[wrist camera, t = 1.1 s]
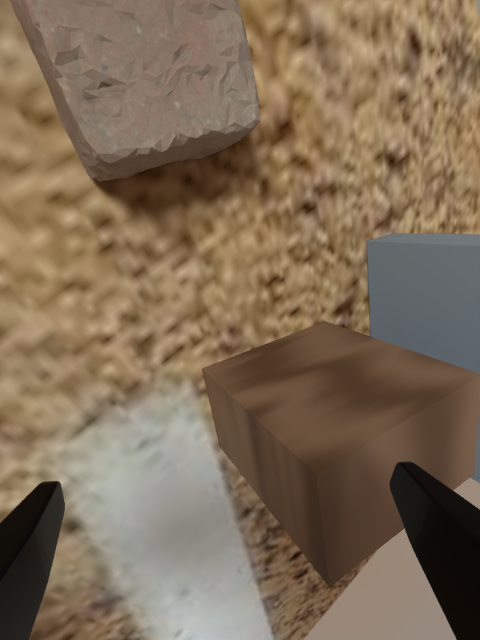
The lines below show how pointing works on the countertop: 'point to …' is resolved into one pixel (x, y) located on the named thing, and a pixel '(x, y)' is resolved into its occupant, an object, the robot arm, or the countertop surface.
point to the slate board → (428, 298)
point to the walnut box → (341, 434)
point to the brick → (144, 78)
